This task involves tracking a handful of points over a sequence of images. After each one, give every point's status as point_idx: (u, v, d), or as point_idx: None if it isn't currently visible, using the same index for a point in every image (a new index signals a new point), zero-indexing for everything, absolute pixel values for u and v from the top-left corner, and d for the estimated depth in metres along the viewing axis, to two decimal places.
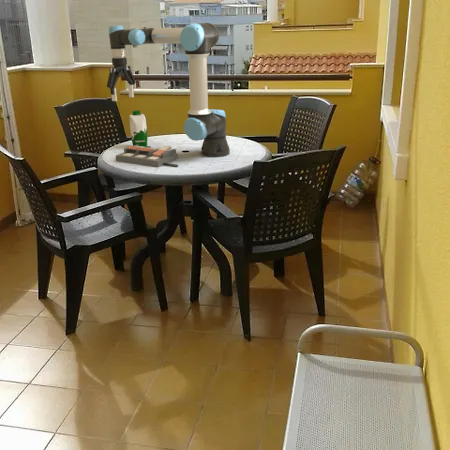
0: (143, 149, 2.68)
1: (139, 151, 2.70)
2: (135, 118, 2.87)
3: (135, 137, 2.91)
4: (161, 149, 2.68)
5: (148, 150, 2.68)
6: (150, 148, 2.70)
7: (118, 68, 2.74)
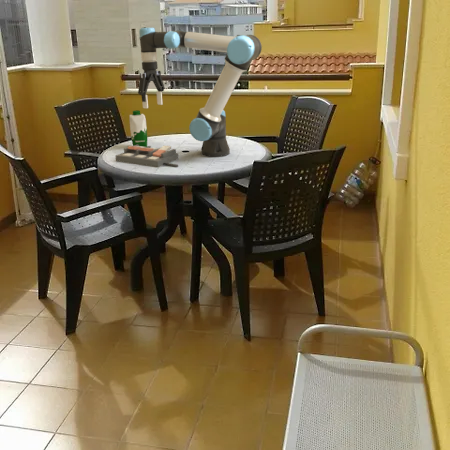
0: (143, 149, 2.68)
1: (139, 151, 2.70)
2: (135, 118, 2.87)
3: (135, 137, 2.91)
4: (161, 149, 2.68)
5: (148, 150, 2.68)
6: (150, 148, 2.70)
7: (148, 72, 2.60)
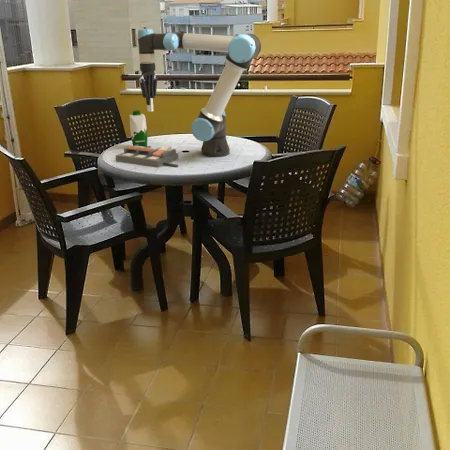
0: (143, 149, 2.68)
1: (139, 151, 2.70)
2: (135, 118, 2.87)
3: (135, 137, 2.91)
4: (161, 149, 2.68)
5: (148, 150, 2.68)
6: (150, 148, 2.70)
7: (145, 74, 2.58)
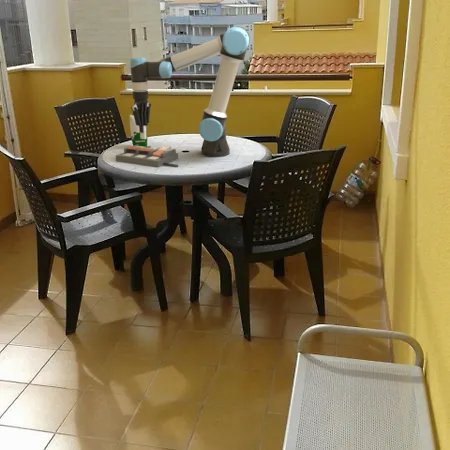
0: (143, 149, 2.68)
1: (139, 151, 2.70)
2: None
3: (135, 137, 2.91)
4: (161, 149, 2.68)
5: (148, 150, 2.68)
6: (150, 148, 2.70)
7: (138, 102, 2.57)
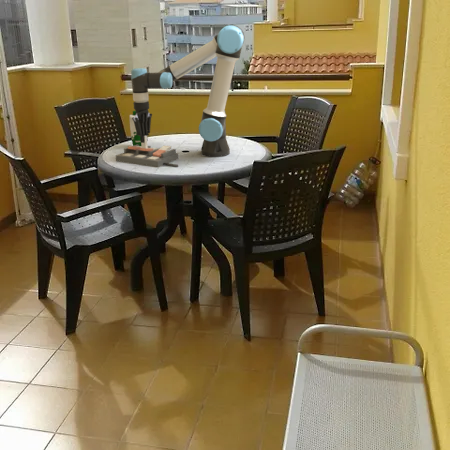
0: (143, 149, 2.68)
1: (139, 151, 2.70)
2: None
3: (135, 137, 2.91)
4: (161, 149, 2.68)
5: (148, 150, 2.68)
6: (150, 148, 2.70)
7: (139, 112, 2.59)
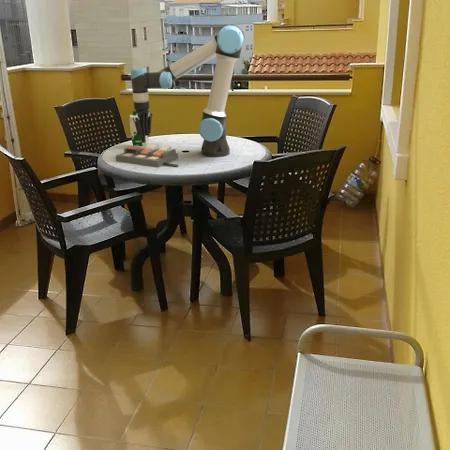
0: (143, 153, 2.68)
1: (139, 151, 2.70)
2: None
3: (135, 137, 2.91)
4: (161, 149, 2.68)
5: (148, 153, 2.68)
6: (150, 149, 2.70)
7: (140, 112, 2.59)
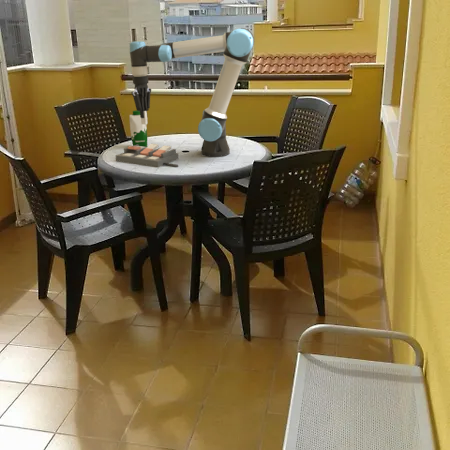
0: (143, 154, 2.68)
1: (139, 151, 2.70)
2: (135, 118, 2.87)
3: (135, 137, 2.91)
4: (161, 149, 2.68)
5: (148, 153, 2.68)
6: (150, 149, 2.70)
7: (139, 86, 2.55)
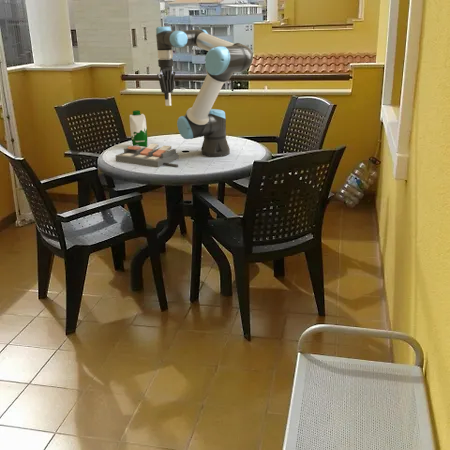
0: (143, 154, 2.68)
1: (139, 151, 2.70)
2: (135, 118, 2.87)
3: (135, 137, 2.91)
4: (161, 149, 2.68)
5: (148, 154, 2.68)
6: (150, 149, 2.70)
7: (164, 69, 2.70)
